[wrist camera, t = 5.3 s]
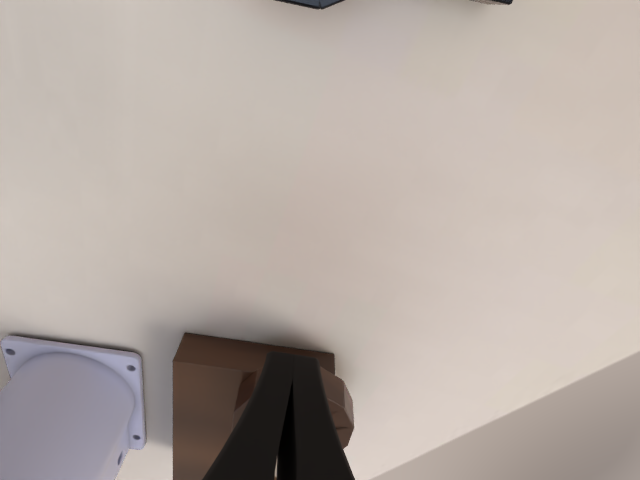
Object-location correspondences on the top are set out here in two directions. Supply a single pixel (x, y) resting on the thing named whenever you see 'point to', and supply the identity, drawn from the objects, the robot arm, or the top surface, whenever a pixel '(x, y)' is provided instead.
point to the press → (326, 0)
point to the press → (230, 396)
